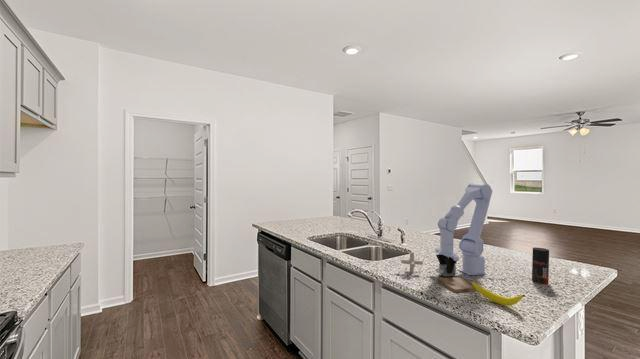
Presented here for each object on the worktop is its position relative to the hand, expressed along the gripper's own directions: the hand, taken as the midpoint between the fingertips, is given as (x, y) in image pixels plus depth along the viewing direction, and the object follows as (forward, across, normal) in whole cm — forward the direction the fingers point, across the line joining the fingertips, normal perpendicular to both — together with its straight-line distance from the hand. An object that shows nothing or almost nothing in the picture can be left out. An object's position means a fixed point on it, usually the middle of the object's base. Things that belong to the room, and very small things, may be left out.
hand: (446, 271), depth 136 cm
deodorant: (+2, +15, +37) cm, 40 cm away
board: (+2, +12, -3) cm, 13 cm away
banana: (+2, +29, 0) cm, 29 cm away
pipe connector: (+2, -7, -14) cm, 16 cm away
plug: (+2, 0, 0) cm, 2 cm away
